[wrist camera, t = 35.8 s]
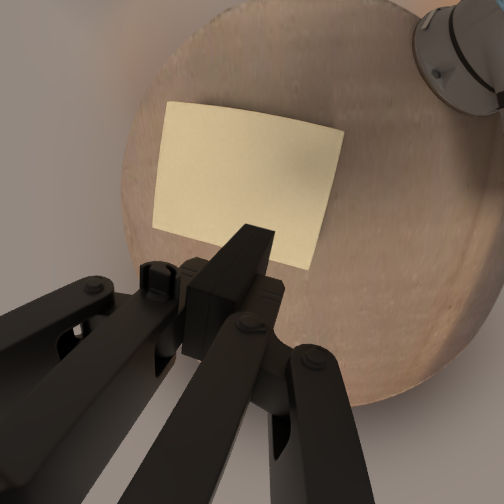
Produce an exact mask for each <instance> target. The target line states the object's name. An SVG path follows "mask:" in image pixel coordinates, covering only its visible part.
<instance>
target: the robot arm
mask: <svg viewBox="0 0 504 504" xmlns="http://www.w3.org/2000/svg"><path fill="white" fill-rule="evenodd" d="M413 52H414V57H415V61H416V64H417V66H418V69H419V71H420V73H421V75H422V77H423V79H424V80H425V82H426V83H427V85H428V86H429V87H430V89H431V90H432V91H433V92H434V93H435V94H436V95H437V96H438V97H439V98H440V99H441V100H442V101H443V102H444V103H446V104H447V105H448V106H450V107H451V108H453V109H455V110H457V111H459V112H461V113H464V114H467V115H472V116H485V115H491V114H494V113H496V112H498V111H499V112H500V117H501V122H502V128H503V135H504V0H461V1H460V2H459V3H458V4H457V5H454V6H452V7H441V8H437V9H435V10H432V11H430V12H429V13H428V14H426V15H425V16H424V17H423V18H422V19H421V21H420V22H419V23H418V25H417V27H416V29H415V32H414V35H413ZM274 236H275V231H273V230H269V229H265V228H262V227H258V226H254V225H250V224H246V223H245V224H244V225H243V226H242V227H241V228H240V229H239V230H238V231H237V232H236V233H235V234H234V236H233V237H232V238H231V239H230V240H229V241H228V242H227V243H226V244H225V245H224V246H223V247H222V248H221V249H220V250H219V251H218V253H217V254H216V255H215V256H214V257H213V258H212V259H211V260H210V261H208V260H205V259H201V258H198V257H195V258H192V259H190V260H187V261H185V262H184V263H183V264H182V265H181V266H180V267H179V268H178V267H176V266H175V265H173V264H170V263H167V262H162V261H152V262H147V263H144V264H142V265H140V289H139V290H138V291H137V292H136V293H135V294H133V295H129V294H123V293H116V292H114V285H113V282H112V281H111V280H110V279H108V278H106V277H102V276H88V277H85V278H82V279H80V280H77V281H75V282H73V283H71V284H68V285H66V286H64V287H62V288H59V289H58V290H55V291H53V292H51V293H49V294H46V295H44V296H42V297H40V298H38V299H36V300H33V301H31V302H29V303H27V304H25V305H23V306H21V307H19V308H16V309H15V310H12V311H10V312H8V313H6V314H4V315H2V316H0V504H81V503H82V501H83V500H84V498H85V497H86V495H87V494H88V492H89V490H90V489H91V488H92V486H93V485H94V483H95V482H96V480H97V478H98V477H99V476H100V474H101V473H102V471H103V470H104V468H105V467H106V465H107V464H108V462H109V461H110V459H111V457H112V456H113V455H114V453H115V452H116V450H117V449H118V447H119V445H120V444H121V442H122V441H123V440H124V438H125V437H126V435H127V434H128V432H129V431H130V429H131V428H132V426H133V425H134V423H135V422H136V420H137V419H138V417H139V416H140V414H141V413H142V411H143V410H144V408H145V407H146V405H147V404H148V402H149V400H150V399H151V398H152V396H153V395H154V393H155V392H156V390H157V389H158V387H159V386H160V384H161V383H162V381H163V380H164V378H165V377H166V375H167V374H168V372H169V371H170V369H171V368H172V366H173V365H174V363H175V360H176V350H177V349H178V348H179V346H180V345H181V343H182V352H181V353H182V354H184V355H186V356H189V357H192V358H195V359H197V360H200V361H201V363H200V365H199V367H198V368H197V370H196V372H195V373H194V375H193V377H192V379H191V380H190V382H189V384H188V385H187V387H186V389H185V391H184V392H183V394H182V396H181V397H180V399H179V401H178V403H177V404H176V406H175V408H174V409H173V411H172V413H171V415H170V416H169V418H168V419H167V421H166V423H165V425H164V426H163V428H162V430H161V431H160V433H159V435H158V437H157V438H156V440H155V442H154V443H153V445H152V447H151V448H150V450H149V451H148V453H147V455H146V457H145V458H144V460H143V462H142V463H141V465H140V467H139V468H138V470H137V472H136V473H135V475H134V477H133V478H132V480H131V482H130V483H129V485H128V487H127V488H126V490H125V492H124V493H123V495H122V496H121V498H120V500H119V501H118V503H117V504H211V503H212V501H213V498H214V496H215V493H216V490H217V488H218V485H219V483H220V480H221V478H222V475H223V473H224V470H225V467H226V465H227V462H228V460H229V457H230V454H231V452H232V449H233V446H234V444H235V441H236V438H237V435H238V433H239V430H240V427H241V424H242V422H243V419H244V416H245V413H246V410H247V408H248V405H249V403H250V401H251V402H252V403H254V404H256V405H257V406H259V407H261V408H262V409H264V410H266V411H267V412H268V437H269V438H268V439H269V466H270V497H271V504H375V502H374V497H373V493H372V488H371V484H370V480H369V476H368V472H367V467H366V463H365V459H364V455H363V451H362V447H361V444H360V440H359V436H358V432H357V428H356V425H355V421H354V417H353V414H352V410H351V406H350V403H349V399H348V396H347V392H346V389H345V385H344V382H343V378H342V375H341V372H340V368H339V365H338V362H337V360H336V358H335V356H334V355H333V354H332V353H331V352H329V351H328V350H327V349H325V348H323V347H321V346H318V345H313V344H302V345H299V346H296V347H295V348H294V349H293V348H291V347H289V346H287V345H286V344H284V343H282V342H281V341H280V340H279V339H278V338H277V336H276V335H275V333H274V330H273V328H274V325H275V322H276V319H277V315H278V312H279V308H280V305H281V301H282V298H283V294H284V291H285V287H284V284H283V282H282V280H278V279H275V278H271V277H268V276H265V274H266V270H267V266H268V262H269V257H270V253H271V249H272V244H273V240H274ZM79 324H80V327H81V334H80V335H74V331H73V328H74V327H75V326H77V325H79Z"/></svg>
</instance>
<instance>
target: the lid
mask: <svg viewBox="0 0 504 504" xmlns="http://www.w3.org/2000/svg"><path fill="white" fill-rule="evenodd" d="M344 133H345V132H344V131H341V130H337V129H333V128H329V127H325V126H321V125H317V124H313V123H309V122H304V121H300V120H295V119H291V118H286V117H281V116H276V115H271V114H265V113H260V112H254V111H248V110H242V109H235V108H228V107H221V106H213V105H204V104H195V103H185V102H173V101H168V102H167V107H166V113H165V119H164V126H163V132H162V139H161V147H160V154H159V162H158V171H157V180H156V190H155V201H154V212H153V226H152V227H153V228H156V229H160V230H164V231H167V232H171V233H175V234H178V235H182V236H185V237H189V238H193V239H196V240H200V241H204V242H207V243H211V244H214V245H218V246H222V247H223V246H224V245H225V244H226V243H227V242H228V241H229V240H230V239H231V238H232V237H233V236H234V234H235V233H236V232H237V231H238V230H239V229H240V228H241V227H242V226H243V225H244V224H245V223H246V224H250V225H254V226H258V227H262V228H265V229H269V230H273V231H275V236H274V240H273V244H272V249H271V253H270V257H269V260H273V261H276V262H280V263H284V264H287V265H291V266H295V267H298V268H302V269H306V270H309V267H310V264H311V261H312V257H313V254H314V250H315V247H316V243H317V240H318V236H319V233H320V229H321V225H322V222H323V218H324V214H325V211H326V207H327V203H328V199H329V195H330V191H331V188H332V184H333V180H334V176H335V172H336V167H337V163H338V159H339V155H340V151H341V146H342V142H343V138H344Z"/></svg>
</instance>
